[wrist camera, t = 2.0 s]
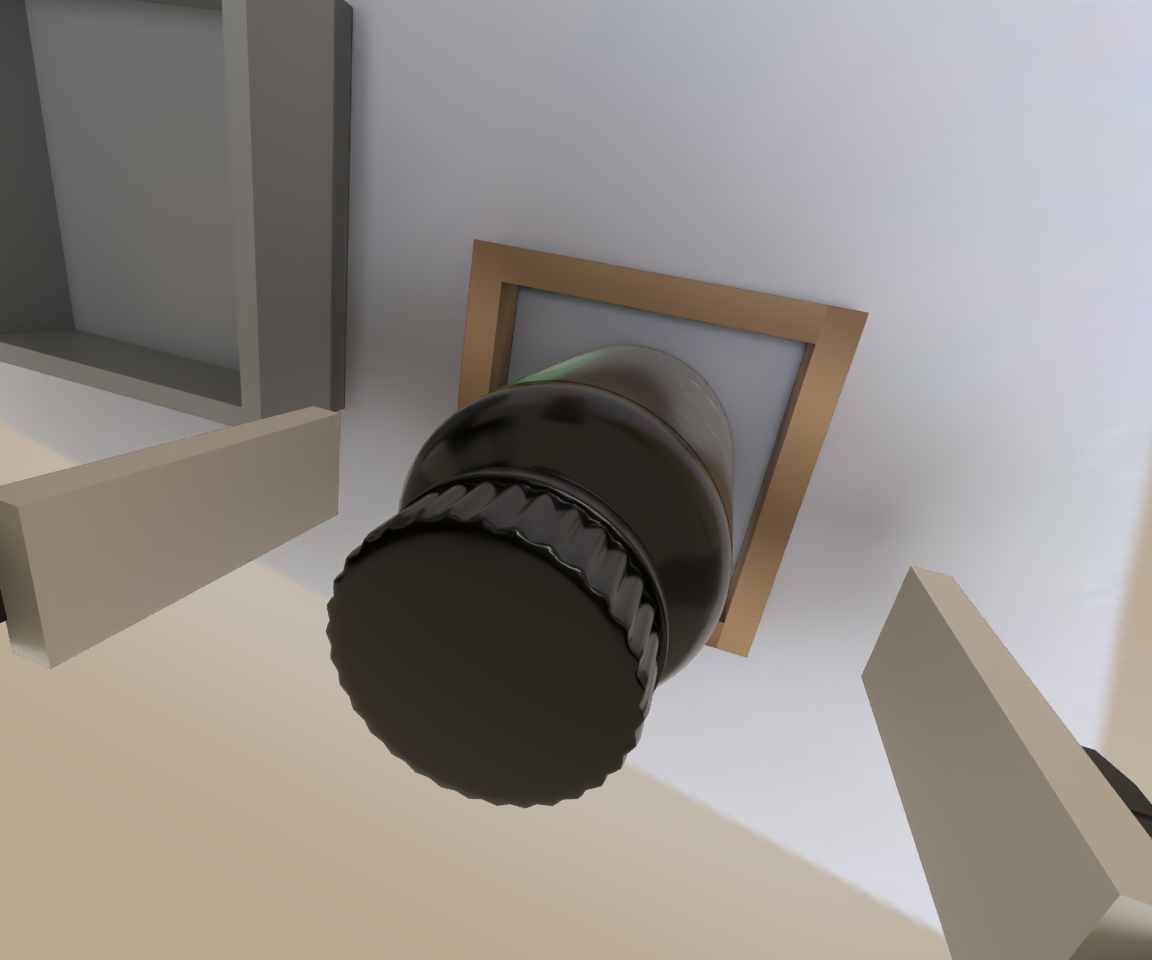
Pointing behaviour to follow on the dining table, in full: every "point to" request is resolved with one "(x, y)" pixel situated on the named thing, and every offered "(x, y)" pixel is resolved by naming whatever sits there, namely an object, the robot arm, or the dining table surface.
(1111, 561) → the dining table surface
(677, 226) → the dining table surface
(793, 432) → the wooden square frame
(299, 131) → the bin
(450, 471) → the supplement bottle
